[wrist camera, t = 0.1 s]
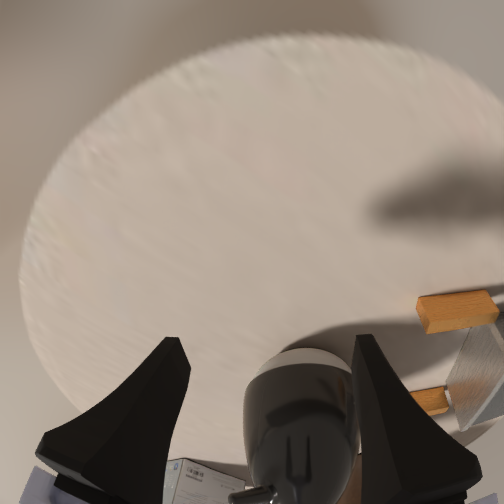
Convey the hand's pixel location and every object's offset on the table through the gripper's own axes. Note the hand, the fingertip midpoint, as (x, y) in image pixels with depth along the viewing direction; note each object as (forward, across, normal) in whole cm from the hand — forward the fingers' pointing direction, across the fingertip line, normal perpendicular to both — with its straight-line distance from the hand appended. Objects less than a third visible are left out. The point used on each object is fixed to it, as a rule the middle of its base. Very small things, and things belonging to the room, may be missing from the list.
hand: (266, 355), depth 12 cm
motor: (+10, -18, +14) cm, 25 cm away
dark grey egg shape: (+10, -1, +14) cm, 17 cm away
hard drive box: (+10, +17, +51) cm, 55 cm away
